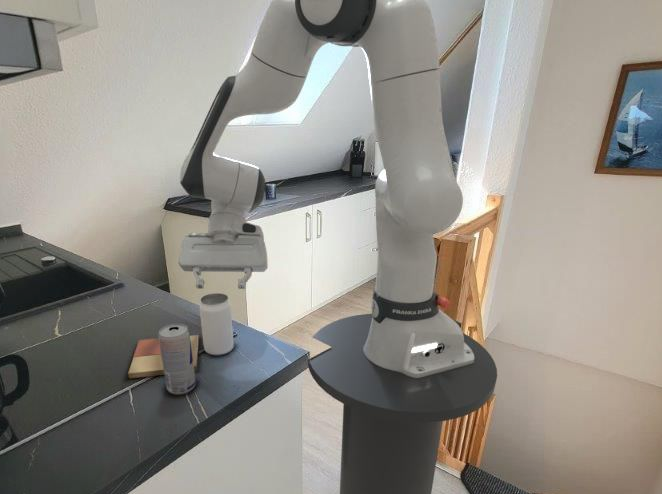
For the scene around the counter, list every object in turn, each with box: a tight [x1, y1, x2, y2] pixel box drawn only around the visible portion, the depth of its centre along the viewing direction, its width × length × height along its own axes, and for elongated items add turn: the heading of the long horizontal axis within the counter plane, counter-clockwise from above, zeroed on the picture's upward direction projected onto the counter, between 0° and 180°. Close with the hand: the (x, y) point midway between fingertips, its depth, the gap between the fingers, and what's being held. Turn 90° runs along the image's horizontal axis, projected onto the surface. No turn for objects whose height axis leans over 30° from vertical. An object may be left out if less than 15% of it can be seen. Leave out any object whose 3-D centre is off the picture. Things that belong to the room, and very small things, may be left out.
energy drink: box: [157, 323, 197, 396], centre depth 74 cm, size 5×5×12 cm
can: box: [199, 292, 235, 356], centre depth 86 cm, size 6×6×12 cm
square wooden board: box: [127, 334, 200, 379], centre depth 85 cm, size 13×13×1 cm
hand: (220, 287), depth 90 cm, fingers open, 8 cm apart
